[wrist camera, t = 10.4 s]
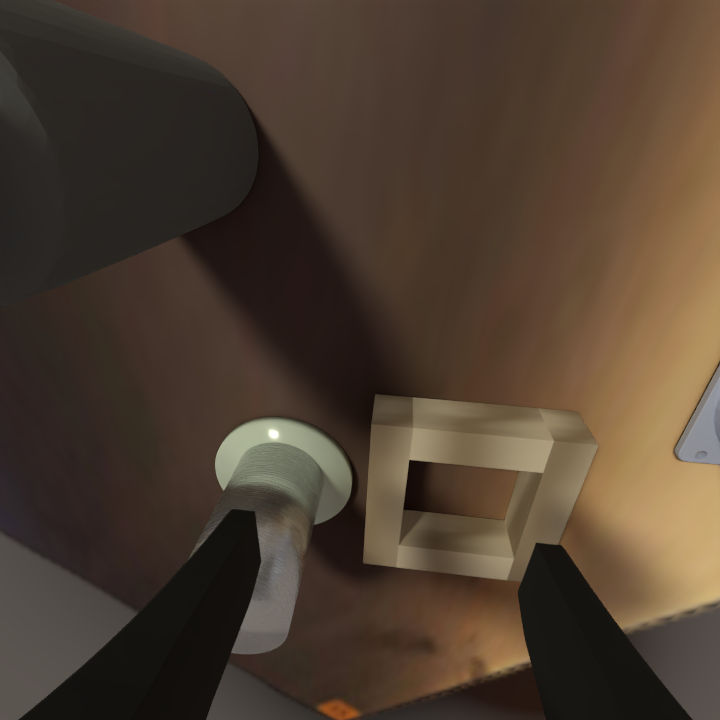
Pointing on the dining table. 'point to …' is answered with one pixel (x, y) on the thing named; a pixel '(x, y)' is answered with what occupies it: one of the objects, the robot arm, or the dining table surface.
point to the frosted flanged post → (273, 534)
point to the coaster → (301, 437)
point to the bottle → (106, 145)
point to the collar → (482, 449)
